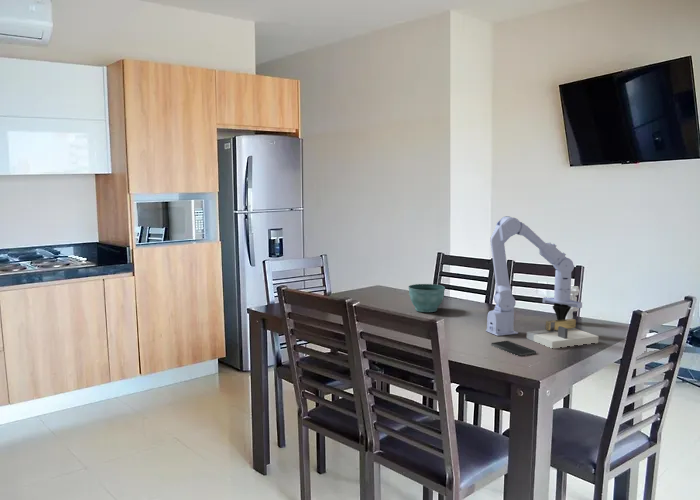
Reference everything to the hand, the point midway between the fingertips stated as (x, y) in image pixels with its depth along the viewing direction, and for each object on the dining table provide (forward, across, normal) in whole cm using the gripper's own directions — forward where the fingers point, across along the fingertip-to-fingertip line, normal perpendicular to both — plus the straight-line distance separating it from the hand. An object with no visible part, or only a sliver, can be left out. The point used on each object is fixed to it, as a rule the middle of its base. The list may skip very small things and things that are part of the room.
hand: (561, 323), depth 217 cm
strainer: (+4, +5, -18) cm, 19 cm away
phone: (+4, +2, +32) cm, 32 cm away
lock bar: (+1, -2, +4) cm, 5 cm away
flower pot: (+4, +60, +5) cm, 60 cm away
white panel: (+4, -5, +10) cm, 11 cm away
